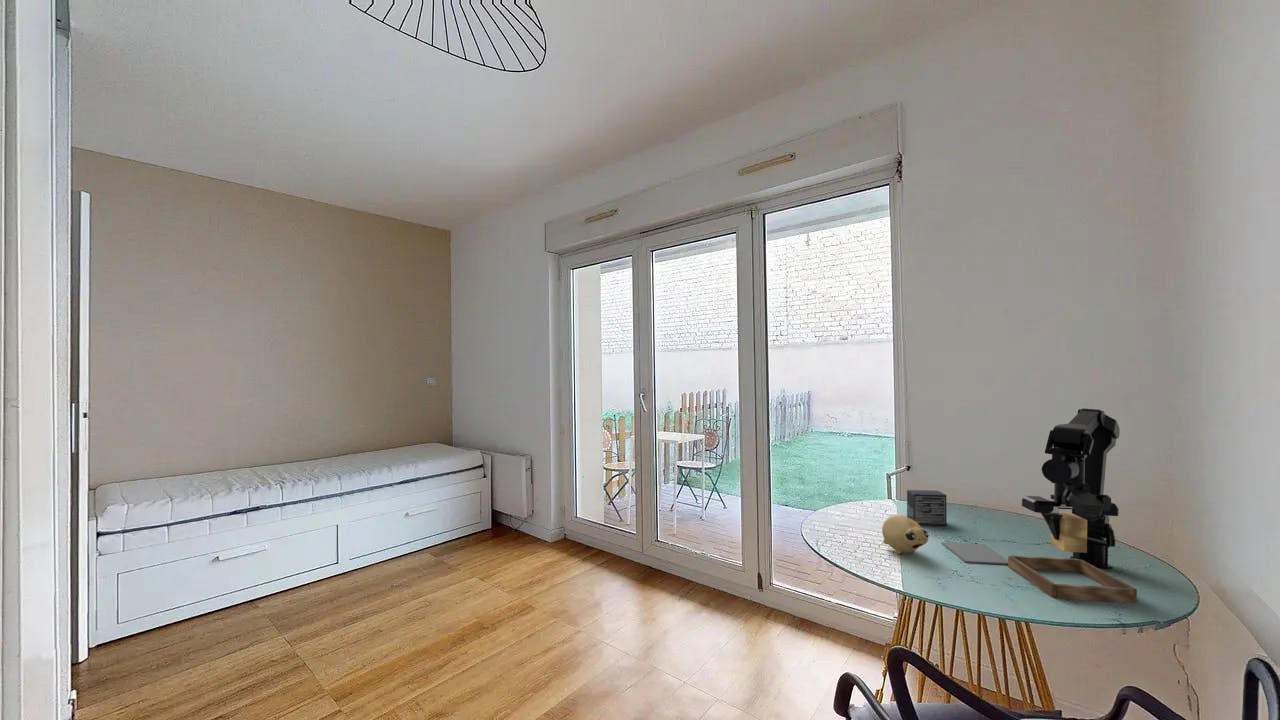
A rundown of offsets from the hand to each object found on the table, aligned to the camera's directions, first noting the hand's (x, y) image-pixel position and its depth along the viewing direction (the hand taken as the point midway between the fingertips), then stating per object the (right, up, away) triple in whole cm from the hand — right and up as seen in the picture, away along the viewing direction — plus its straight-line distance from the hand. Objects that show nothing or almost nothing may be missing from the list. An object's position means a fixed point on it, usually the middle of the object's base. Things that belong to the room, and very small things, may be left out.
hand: (1068, 540), depth 127 cm
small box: (-10, -11, +46) cm, 48 cm away
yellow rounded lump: (-21, -11, +37) cm, 44 cm away
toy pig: (-31, -11, +19) cm, 38 cm away
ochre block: (0, -2, 0) cm, 2 cm away
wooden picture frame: (0, -11, 0) cm, 11 cm away
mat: (-11, -11, +19) cm, 24 cm away
